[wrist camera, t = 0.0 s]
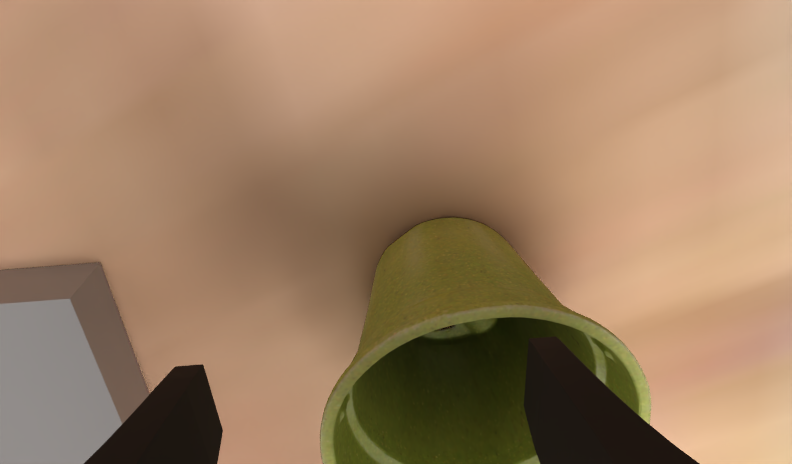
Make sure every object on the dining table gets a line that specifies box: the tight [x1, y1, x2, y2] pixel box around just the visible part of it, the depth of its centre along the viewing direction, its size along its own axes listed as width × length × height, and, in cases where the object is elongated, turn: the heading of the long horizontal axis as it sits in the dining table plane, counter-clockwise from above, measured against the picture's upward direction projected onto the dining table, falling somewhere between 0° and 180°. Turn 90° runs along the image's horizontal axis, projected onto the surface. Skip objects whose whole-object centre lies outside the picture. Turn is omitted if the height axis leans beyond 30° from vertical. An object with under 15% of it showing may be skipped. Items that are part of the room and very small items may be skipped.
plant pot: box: [320, 218, 651, 464], centre depth 19 cm, size 9×9×9 cm
